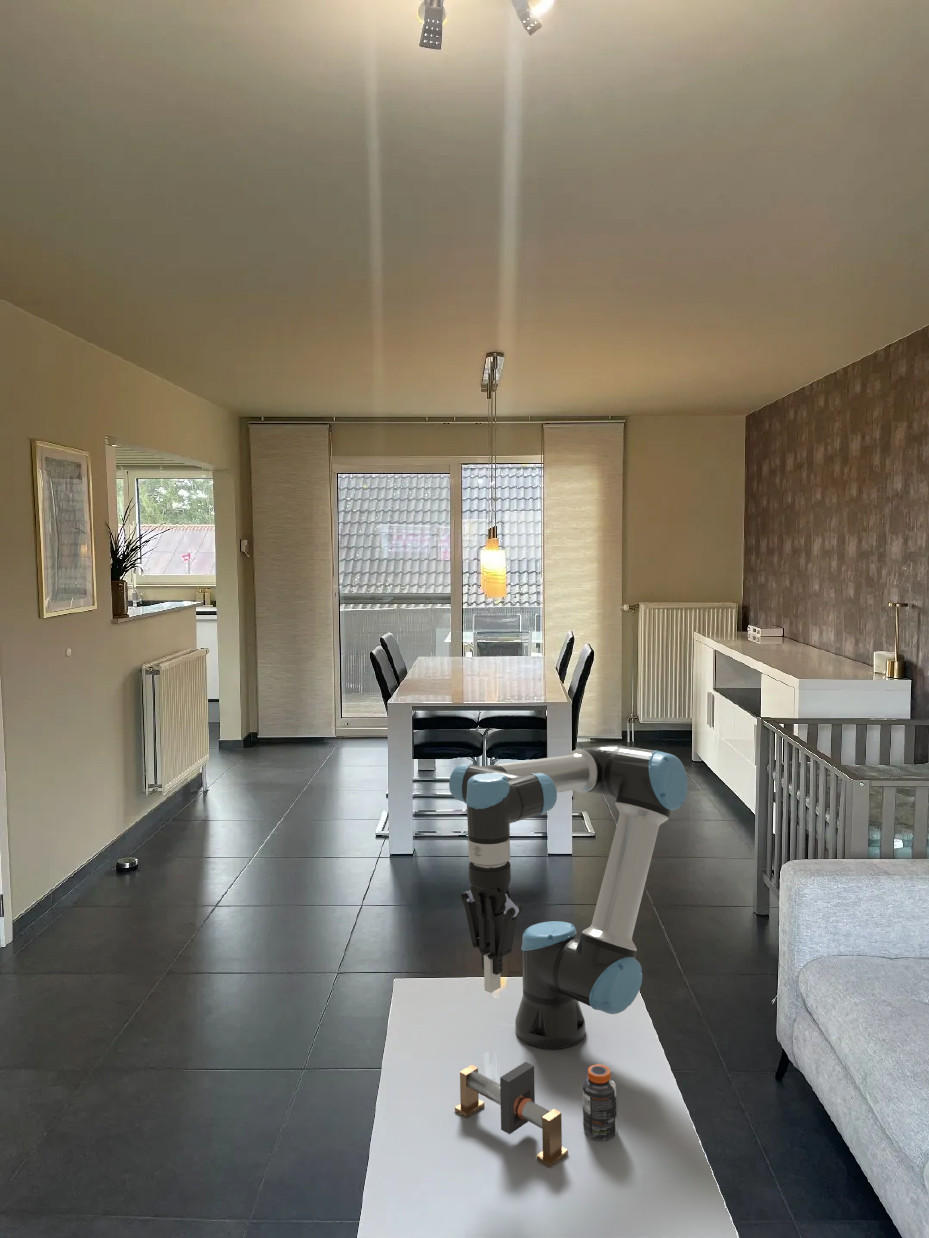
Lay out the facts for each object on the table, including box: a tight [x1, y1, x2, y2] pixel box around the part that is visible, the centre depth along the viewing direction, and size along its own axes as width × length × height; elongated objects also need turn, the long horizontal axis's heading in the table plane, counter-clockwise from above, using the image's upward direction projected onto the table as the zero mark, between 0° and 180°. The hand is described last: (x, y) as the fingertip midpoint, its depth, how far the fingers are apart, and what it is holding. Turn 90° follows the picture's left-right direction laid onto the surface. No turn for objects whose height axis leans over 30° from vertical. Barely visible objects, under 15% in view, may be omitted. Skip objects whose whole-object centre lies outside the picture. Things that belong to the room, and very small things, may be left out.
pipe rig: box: [454, 1064, 569, 1169], centre depth 157 cm, size 23×5×8 cm, turn 45°
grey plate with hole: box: [499, 1061, 536, 1135], centre depth 155 cm, size 2×7×9 cm, turn 135°
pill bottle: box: [582, 1063, 618, 1141], centre depth 157 cm, size 6×6×11 cm
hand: (492, 988), depth 159 cm, fingers closed
